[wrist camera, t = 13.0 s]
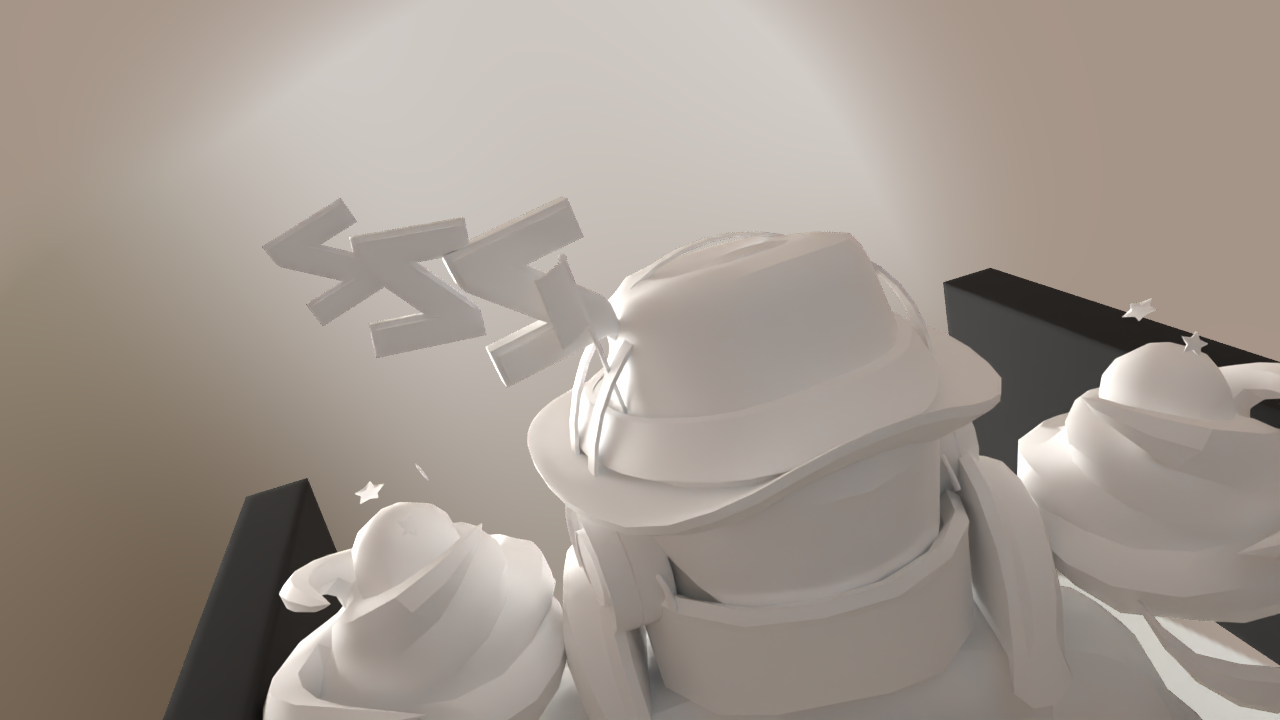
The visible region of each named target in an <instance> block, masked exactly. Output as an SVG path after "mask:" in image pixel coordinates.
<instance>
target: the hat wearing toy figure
mask: <svg viewBox="0 0 1280 720" xmlns="http://www.w3.org/2000/svg"><path fill="white" fill-rule="evenodd" d="M356 222H357V221H356V219H355V218H354V216H353V215H352V214H351V212H350V211H349V209H348V208H347V207H346V205H345V204H344V202H343V201H342V200H341V198H339V199H338V200H336V201H334V202H333V203H331V204H330V205H328V206H326V207H325V208H323V209H321V210H320V211H318V212H317V213H315V214H313V215H312V216H310V217H309V218H307V219H305V220H304V221H303V222H301V223H299V224H298V225H296V226H294V227H293V228H291V229H289V230H288V231H286V232H285V233H283V234H281V235H280V236H278V237H277V238H275V239H273V240H272V241H270V242H268V243H267V244H265V245H264V246H262V247H263V248H264V250H265V251H266V252H267V254H268V255H269V256H270V257H271V258H272V259H273V261H274V262H275V263H276V264H277V265H279V266H280V267H283V268H288V269H292V270H296V271H300V272H305V273H309V274H314V275H319V276H323V277H327V278H332V279H336V280H340V281H342V282H340V283H338V284H337V285H335V286H334V287H332V288H331V289H329V290H327V291H326V292H324V293H323V294H321V295H320V296H318V297H317V298H315V299H313V300H312V301H310V302H308V303H307V304H306V305H307V306H308V308H309V309H310V310H311V312H312V313H313V314H314V316H315V317H316V318H317V320H318V321H319V322H320V324H321V325H322V326H324V325H326V324H328V323H329V322H330V321H332V320H333V319H335V318H337V317H338V316H340V315H341V314H343V313H344V312H346V311H348V310H349V309H350V308H352V307H354V306H355V305H357V304H358V303H360V302H361V301H363V300H365V299H366V298H368V297H369V296H371V295H373V294H374V293H376V292H377V291H379V290H380V289H382V288H383V287H385V288H387V289H389V290H390V291H391V292H393V293H394V294H396V295H397V296H399V297H400V298H402V299H403V300H404V301H406V302H407V303H409V304H410V305H412V306H413V307H415V308H416V309H417V310H419V311H420V312H422V313H417V314H412V315H407V316H402V317H397V318H392V319H387V320H382V321H377V322H372V323H369V328H370V332H371V337H372V341H373V346H374V350H375V354H376V358H380V357H384V356H389V355H394V354H398V353H403V352H407V351H412V350H417V349H422V348H427V347H431V346H436V345H441V344H446V343H451V342H455V341H460V340H464V339H469V338H474V337H479V336H483V335H486V333H485V328H484V323H483V319H482V315H481V311H480V309H479V308H478V306H477V305H476V304H475V303H474V302H472V301H471V300H469V299H468V298H467V297H466V296H464V295H463V294H461V293H460V292H459V291H457V290H456V289H454V288H453V287H452V286H450V285H449V284H447V283H446V282H445V281H443V280H442V279H440V278H439V277H438V276H436V275H435V274H433V273H432V272H431V271H429V270H428V269H427V268H425V267H424V266H422V265H421V264H419V263H418V262H421V261H427V260H432V259H438V258H442V260H443V262H444V264H445V265H446V267H447V269H448V271H449V273H450V275H451V276H452V278H453V280H454V282H455V283H456V284H457V285H458V286H459V287H460V288H462V289H463V290H464V291H465V292H468V293H470V294H472V295H475V296H478V297H480V298H483V299H485V300H488V301H491V302H493V303H496V304H499V305H501V306H504V307H506V308H509V309H512V310H514V311H517V312H520V313H522V314H525V315H528V316H530V317H533V318H536V319H538V321H536V322H534V323H532V324H530V325H528V326H526V327H524V328H522V329H520V330H518V331H516V332H514V333H512V334H510V335H508V336H506V337H504V338H502V339H500V340H498V341H496V342H494V343H492V344H490V345H488V346H486V349H487V351H488V353H489V355H490V357H491V360H492V362H493V364H494V366H495V368H496V370H497V372H498V374H499V376H500V378H501V380H502V382H503V383H504V384H505V386H506V387H510V386H511V385H513V384H515V383H517V382H519V381H521V380H523V379H525V378H527V377H529V376H531V375H533V374H535V373H536V372H539V371H541V370H543V369H544V368H546V367H548V366H550V365H552V364H554V363H556V362H558V361H560V360H562V359H564V358H566V357H568V356H570V355H572V354H574V353H575V352H577V351H579V350H581V349H583V348H585V347H586V348H585V351H584V353H583V355H582V358H581V360H580V364H579V367H578V371H577V375H576V379H575V383H574V386H573V389H571V390H569V391H568V392H566V393H565V394H563V395H561V396H560V397H558V398H556V399H555V400H553V401H552V402H550V403H549V404H548V405H547V406H545V407H544V408H543V409H542V410H541V411H540V412H539V413H538V414H537V416H536V417H535V418H534V419H533V421H532V423H531V425H530V428H529V430H528V435H527V437H528V438H527V445H528V448H529V451H530V454H531V457H532V460H533V463H534V465H535V468H536V469H537V471H538V472H539V474H540V475H541V476H542V478H543V480H544V481H545V483H546V484H547V486H548V487H549V489H550V490H551V491H552V492H553V493H554V494H555V495H556V496H558V497H559V498H560V499H561V500H562V501H563V502H564V503H565V504H566V505H567V506H566V509H565V515H566V521H567V527H568V530H569V534H570V538H571V542H572V546H571V547H570V548H569V549H568V551H567V555H566V561H565V567H564V573H563V574H564V575H563V612H562V609H561V606H560V603H559V601H558V600H557V599H556V598H555V597H554V596H553V593H554V587H555V579H554V578H553V577H552V572H551V570H550V568H549V566H548V564H547V562H546V560H545V558H544V556H543V554H542V552H541V550H540V549H539V548H538V547H537V546H536V545H535V544H534V543H533V542H532V541H529V540H523V539H516V538H512V537H509V536H505V535H502V534H495V535H488V534H487V533H486V532H484V531H483V530H481V529H482V524H479V525H477V526H475V525H472V524H468V523H464V522H458V523H453V522H452V521H451V519H450V517H449V516H448V514H447V513H446V512H445V511H443V510H441V509H440V508H438V507H436V506H435V505H433V504H430V503H415V502H398V503H395V504H393V505H391V506H388V507H385V508H383V509H381V510H380V511H379V512H378V513H377V514H376V515H375V516H374V517H373V518H371V520H370V521H369V522H368V523H367V524H366V525H365V526H364V527H363V528H362V529H361V530H360V531H359V532H358V533H357V536H356V539H355V542H354V546H353V548H352V549H348V550H345V551H341V552H338V553H334V554H331V555H328V556H325V557H322V558H319V559H316V560H313V561H312V562H310V563H308V564H307V565H305V566H303V567H301V568H300V569H298V570H296V571H295V572H294V573H293V574H292V575H291V577H290V578H289V579H288V580H287V582H286V583H285V584H284V585H283V587H282V589H281V592H280V594H279V595H280V597H281V599H282V601H283V602H284V604H285V606H286V608H287V609H289V610H291V611H293V612H317V611H320V610H322V609H324V608H326V607H327V606H329V605H330V603H329V602H328V601H327V600H326V599H325V598H324V597H323V596H322V595H326V594H328V595H332V596H336V597H337V598H338V600H339V601H340V603H341V604H342V606H343V607H342V608H341V609H340V610H339V611H338V613H337V614H335V615H334V616H333V617H331V618H330V619H329V620H328V621H326V622H325V623H324V624H322V625H321V626H320V627H319V628H317V629H316V630H315V631H314V632H312V633H311V634H310V635H308V636H307V637H306V638H305V639H303V640H302V641H301V642H299V644H298V645H297V646H296V648H295V649H294V650H293V652H292V653H291V654H290V656H289V657H288V658H287V660H286V661H285V662H284V664H283V665H282V666H281V668H280V669H279V670H278V672H277V673H276V674H275V676H274V677H273V678H272V681H271V685H270V688H269V691H268V694H267V697H266V700H265V703H264V706H263V720H1202V719H1201V718H1200V716H1199V715H1198V714H1197V713H1196V712H1195V711H1193V710H1192V709H1191V708H1190V707H1189V706H1188V705H1186V704H1185V703H1184V702H1183V701H1182V700H1180V699H1179V698H1178V697H1177V696H1176V695H1174V694H1173V693H1172V692H1171V691H1170V690H1168V689H1167V687H1166V686H1165V684H1164V682H1163V681H1162V679H1161V677H1160V676H1159V674H1158V672H1157V671H1156V669H1155V667H1154V666H1153V664H1152V662H1151V661H1150V659H1149V658H1148V656H1147V654H1146V653H1145V651H1144V649H1143V648H1142V646H1141V644H1140V643H1139V641H1138V640H1137V638H1136V636H1135V635H1134V634H1133V633H1132V632H1131V631H1130V630H1129V629H1128V628H1127V627H1126V626H1125V625H1124V624H1123V623H1122V622H1121V621H1119V620H1118V619H1117V618H1116V617H1114V616H1113V615H1112V614H1111V613H1109V612H1108V611H1107V610H1106V609H1104V608H1103V607H1102V606H1101V605H1099V604H1098V603H1097V602H1096V601H1094V600H1092V599H1090V598H1089V597H1087V596H1085V595H1083V594H1082V593H1080V592H1078V591H1076V590H1074V589H1073V588H1071V587H1065V586H1060V584H1059V580H1058V575H1057V571H1056V569H1058V570H1059V571H1060V572H1061V573H1062V574H1063V575H1064V576H1065V577H1067V578H1068V579H1069V580H1070V581H1071V582H1072V583H1073V584H1074V585H1076V586H1077V587H1079V588H1081V589H1082V590H1084V591H1086V592H1087V593H1089V594H1091V595H1092V596H1094V597H1096V598H1097V599H1099V600H1101V601H1102V602H1104V603H1105V604H1107V605H1109V606H1110V607H1112V608H1114V609H1115V610H1117V611H1119V612H1120V613H1128V614H1138V615H1143V616H1144V618H1145V619H1146V621H1147V622H1148V624H1149V625H1150V627H1151V628H1152V630H1153V632H1154V633H1155V635H1156V636H1157V638H1158V639H1159V641H1160V642H1161V644H1162V645H1163V647H1164V649H1165V650H1166V651H1167V652H1168V653H1170V654H1171V655H1172V656H1173V657H1174V658H1175V659H1176V660H1177V661H1178V662H1179V663H1180V665H1181V666H1182V667H1183V668H1184V669H1185V670H1186V671H1187V672H1188V673H1189V674H1190V675H1191V676H1192V677H1193V679H1194V680H1195V681H1196V682H1198V683H1200V684H1201V685H1203V686H1205V687H1207V688H1208V689H1210V690H1212V691H1214V692H1215V693H1217V694H1219V695H1221V696H1222V697H1224V698H1226V699H1227V700H1229V701H1231V702H1233V703H1234V704H1236V705H1238V706H1241V707H1246V708H1251V709H1257V710H1262V711H1267V712H1272V713H1277V714H1278V713H1280V667H1269V666H1258V665H1246V664H1238V663H1233V662H1229V661H1225V660H1221V659H1217V658H1212V657H1208V656H1204V655H1200V654H1196V653H1195V652H1194V651H1192V650H1191V649H1190V648H1188V647H1187V646H1186V645H1185V644H1183V643H1182V642H1181V641H1180V640H1178V639H1177V638H1176V637H1175V636H1173V635H1172V634H1171V633H1169V632H1168V631H1167V630H1166V629H1164V628H1163V627H1162V626H1161V625H1160V623H1159V622H1158V621H1157V620H1156V619H1155V617H1154V616H1158V617H1168V618H1179V619H1189V620H1198V621H1214V622H1235V623H1247V622H1250V621H1254V620H1257V619H1261V618H1265V617H1268V616H1272V615H1276V614H1279V613H1280V429H1277V428H1274V427H1272V426H1270V425H1267V424H1265V423H1263V422H1261V421H1258V420H1256V419H1253V418H1250V408H1252V407H1253V406H1255V405H1256V404H1258V403H1259V402H1261V401H1262V400H1265V399H1280V363H1263V362H1258V363H1249V364H1240V365H1232V366H1225V367H1217V366H1216V364H1215V363H1214V362H1213V361H1212V360H1211V359H1210V357H1209V356H1208V355H1207V354H1205V353H1202V352H1201V347H1203V346H1205V345H1207V344H1208V343H1206V342H1204V341H1202V340H1200V338H1199V336H1198V333H1197V331H1196V332H1195V333H1194V334H1193V336H1192V337H1184V336H1182V338H1183V340H1184V341H1185V343H1186V346H1183V345H1179V344H1175V343H1171V342H1160V343H1148V344H1146V345H1144V346H1142V347H1140V348H1137V349H1135V350H1133V351H1131V352H1129V353H1127V354H1125V355H1123V356H1120V357H1118V358H1116V359H1115V360H1114V361H1113V362H1112V364H1111V365H1110V366H1109V367H1108V368H1107V370H1106V371H1105V372H1104V373H1103V374H1102V378H1101V383H1100V388H1096V389H1092V390H1088V391H1087V392H1085V393H1084V394H1083V395H1081V396H1080V397H1079V398H1077V399H1076V400H1075V401H1074V403H1073V405H1072V408H1071V410H1070V412H1069V413H1065V414H1062V415H1058V416H1055V417H1053V418H1050V419H1047V420H1045V421H1043V422H1042V423H1040V424H1039V425H1038V426H1037V427H1035V428H1034V429H1033V430H1031V431H1030V432H1029V433H1027V434H1026V435H1025V436H1023V437H1022V438H1020V439H1019V440H1018V469H1017V475H1016V474H1015V473H1013V472H1012V471H1011V470H1010V469H1009V468H1008V467H1007V466H1006V465H1005V464H1004V463H1003V462H1002V461H999V460H996V459H993V458H989V457H986V456H979V445H978V440H977V436H976V431H975V427H974V425H973V423H972V421H973V420H975V419H977V418H978V417H980V416H982V415H983V414H985V413H986V412H988V411H990V410H991V409H992V408H994V407H995V406H996V405H997V404H998V403H999V402H1000V398H1001V377H1000V376H999V375H998V373H997V372H996V371H995V370H994V369H993V368H992V366H991V365H990V364H989V363H988V362H987V361H986V360H984V359H983V358H982V357H981V356H980V355H978V354H977V353H976V352H975V351H973V350H972V349H971V348H970V347H968V346H967V345H965V344H963V343H962V342H960V341H958V340H956V339H955V338H953V337H951V336H950V335H948V334H946V333H944V332H941V331H939V330H936V329H934V328H932V327H929V326H926V324H925V322H924V320H923V318H922V316H921V314H920V312H919V310H918V308H917V306H916V304H915V302H914V301H913V300H912V298H911V297H910V296H909V294H908V293H907V292H906V290H905V289H904V288H903V287H902V285H901V284H900V283H899V282H898V281H897V280H895V279H894V278H893V277H892V276H891V275H890V274H889V273H888V272H887V271H885V270H884V269H883V268H882V267H880V266H879V265H877V264H875V263H873V262H872V261H870V259H869V257H868V256H867V254H866V252H865V250H864V249H863V247H862V245H861V244H860V243H859V242H858V241H857V240H856V239H855V238H854V237H853V236H852V235H851V234H850V233H836V232H806V233H798V234H790V235H783V234H776V233H768V232H737V233H726V234H721V235H716V236H712V237H707V238H703V239H700V240H697V241H695V242H692V243H690V244H687V245H685V246H682V247H680V248H677V249H675V250H674V251H672V252H670V253H669V254H667V255H665V256H664V257H662V258H660V259H659V260H657V261H655V262H654V263H652V264H651V265H649V266H648V267H646V268H644V269H641V270H639V271H637V272H636V273H634V274H632V275H630V276H627V277H626V278H625V279H624V281H623V282H622V284H621V285H620V286H619V288H618V289H617V290H616V292H615V293H614V294H613V295H612V296H611V298H610V299H609V300H607V299H606V298H605V297H603V296H602V295H600V294H598V293H596V292H594V291H591V290H589V289H586V288H584V287H582V286H579V285H577V284H576V283H575V280H574V278H573V275H572V273H571V270H570V268H569V265H568V263H567V261H566V260H567V257H566V255H565V254H560V255H559V256H558V260H559V261H560V262H559V263H558V265H556V266H555V268H553V269H551V270H550V271H549V272H548V273H547V272H544V271H542V270H540V269H537V268H534V267H532V266H530V265H527V264H529V263H531V262H533V261H535V260H537V259H539V258H541V257H543V256H545V255H547V254H549V253H551V252H554V251H556V250H558V249H559V248H562V247H564V246H566V245H568V244H570V243H572V242H574V241H576V240H578V239H581V238H583V234H582V232H581V230H580V228H579V225H578V223H577V221H576V218H575V216H574V214H573V211H572V208H571V206H570V204H569V201H568V199H567V198H563V197H560V198H558V199H556V200H553V201H551V202H549V203H547V204H545V205H543V206H541V207H538V208H536V209H534V210H532V211H530V212H528V213H526V214H523V215H521V216H519V217H517V218H515V219H513V220H511V221H509V222H506V223H504V224H502V225H500V226H498V227H496V228H494V229H491V230H489V231H487V232H485V233H483V234H481V235H479V236H477V237H475V238H473V239H471V240H468V235H467V230H466V224H465V218H457V219H450V220H444V221H439V222H433V223H428V224H421V225H416V226H410V227H405V228H398V229H393V230H387V231H381V232H375V233H369V234H363V235H357V236H351V237H349V238H350V242H351V247H352V250H353V252H349V251H345V250H341V249H336V248H332V247H328V246H324V245H321V244H322V243H324V242H325V241H327V240H329V239H330V238H332V237H333V236H335V235H337V234H338V233H340V232H341V231H343V230H345V229H346V228H348V227H349V226H351V225H353V224H354V223H356ZM742 236H751V237H746V238H742V239H738V240H733V241H728V242H723V243H720V244H716V245H713V246H709V247H705V248H702V249H699V250H695V251H692V252H689V253H686V254H683V253H685V252H688V251H690V250H693V249H695V248H697V247H700V246H703V245H705V244H707V243H710V242H714V241H719V240H724V239H728V238H733V237H742ZM682 254H683V255H682ZM565 261H566V262H565ZM876 273H877V274H878V275H879V276H880V277H881V278H882V279H884V280H885V281H886V282H887V283H888V285H889V286H890V287H891V289H892V290H893V291H894V292H895V294H896V295H897V296H898V298H899V299H900V300H901V302H902V304H903V306H904V308H905V310H906V312H907V314H908V316H909V318H910V320H908V319H905V318H904V317H902V316H900V315H898V314H896V313H894V312H892V311H891V309H890V306H889V304H888V301H887V299H886V297H885V294H884V292H883V289H882V287H881V285H880V282H879V280H878V277H877V275H876ZM1151 300H1152V299H1149V300H1146V301H1143V302H1141V303H1130V307H1131V309H1130V310H1129V311H1128V312H1127V313H1126V314H1125V315H1124V316H1123V317H1136V318H1137V319H1138V321H1140V320H1141V319H1142V318H1143V317H1144V316H1145V315H1146V314H1148V313H1151V312H1153V311H1155V310H1157V309H1155V308H1153V307H1151V306H1150V304H1151ZM605 337H608V341H609V356H608V360H607V359H606V357H605V354H604V352H603V349H602V347H601V344H600V342H599V340H601V339H603V338H605ZM595 349H597V351H598V354H599V356H600V359H601V361H602V364H603V366H604V367H603V368H602V369H601V370H600V371H599V372H598V373H596V374H595V375H594V376H593V377H592V378H591V379H590V380H589V381H587V382H585V383H584V381H585V377H586V374H587V370H588V366H589V363H590V361H591V358H592V356H593V354H594V351H595ZM416 467H417V469H418V470H419V471H420V472H421V474H422V475H423V476H424V477H425V478H426V479H427V480H428V478H427V476H426V474H425V473H424V472H423V470H422V469H421V468H420V466H418V465H417V464H416ZM383 485H384V484H378V485H373V484H372V483H371V482H369V483H368V484H367V485H366V487H365V488H363V489H362V490H360V491H359V492H357V493H355V494H356V495H358V496H361V500H360V504H361V503H363V502H365V501H367V500H369V499H371V498H378V493H377V492H378V491H379V490H380V489H381V487H382V486H383ZM566 659H567V663H568V667H565V664H566Z"/></svg>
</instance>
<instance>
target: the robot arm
mask: <svg viewBox="0 0 1280 720" xmlns="http://www.w3.org/2000/svg"><path fill="white" fill-rule="evenodd" d="M943 285H944V294H945V304H946V313H947V322H948V331H949V335H950V336H951V337H953V338H955V339H956V340H958V341H960V342H962V343H963V344H965V345H967V346H968V347H970V348H971V349H972V350H973V351H975V352H976V353H977V354H978V355H980V356H981V357H982V358H983V359H984V360H986V361H987V362H988V363H989V364H990V365H991V366H992V368H993V369H994V370H995V371H996V372H997V373H998V375H999V376H1000V377H1001V398H1000V402H999V403H998V404H997V405H996V406H995V407H994V408H992V409H991V410H990V411H988V412H986V413H985V414H983V415H982V416H980V417H978V418H977V419H975V420H973V421H972V423H973V425H974V427H975V431H976V436H977V440H978V445H979V456H986V457H989V458H993V459H996V460H999V461H1002V462H1003V463H1004V464H1005V465H1006V466H1007V467H1008V468H1009V469H1010V470H1011V471H1012V472H1013V473H1015V474H1016V475H1017V469H1018V440H1019V439H1020V438H1022V437H1023V436H1025V435H1026V434H1027V433H1029V432H1030V431H1031V430H1033V429H1034V428H1035V427H1037V426H1038V425H1039V424H1040V423H1042V422H1043V421H1045V420H1047V419H1050V418H1053V417H1055V416H1058V415H1062V414H1065V413H1069V412H1070V410H1071V408H1072V405H1073V403H1074V401H1075V400H1076V399H1077V398H1079V397H1080V396H1081V395H1083V394H1084V393H1085V392H1087V391H1088V390H1092V389H1096V388H1100V383H1101V378H1102V374H1103V373H1104V372H1105V371H1106V370H1107V368H1108V367H1109V366H1110V365H1111V364H1112V362H1113V361H1114V360H1115V359H1116V358H1118V357H1120V356H1123V355H1125V354H1127V353H1129V352H1131V351H1133V350H1135V349H1137V348H1140V347H1142V346H1144V345H1146V344H1148V343H1160V342H1171V343H1175V344H1179V345H1183V346H1186V343H1185V341H1184V340H1183V338H1182V336H1184V337H1192V336H1193V334H1192V333H1189V332H1186V331H1183V330H1179V329H1177V328H1174V327H1171V326H1167V325H1164V324H1161V323H1158V322H1155V321H1152V320H1149V319H1146V318H1142V319H1141V320H1140V321H1138V319H1137V318H1136V317H1123V316H1124V315H1125V314H1126V313H1127V312H1124V311H1121V310H1118V309H1115V308H1112V307H1109V306H1106V305H1103V304H1100V303H1097V302H1094V301H1090V300H1087V299H1084V298H1081V297H1078V296H1075V295H1072V294H1069V293H1066V292H1063V291H1060V290H1057V289H1054V288H1051V287H1048V286H1045V285H1042V284H1038V283H1035V282H1032V281H1029V280H1026V279H1023V278H1020V277H1017V276H1014V275H1011V274H1008V273H1004V272H1002V271H999V270H995V269H992V268H989V269H985V270H982V271H979V272H976V273H972V274H969V275H966V276H962V277H959V278H956V279H953V280H949V281H946V282H944V283H943ZM1199 338H1200V340H1202V341H1204V342H1206V343H1208V344H1207V345H1205V346H1203V347H1201V352H1202V353H1205V354H1207V355H1208V356H1209V357H1210V359H1211V360H1212V361H1213V362H1214V363H1215V364H1216V366H1217V367H1225V366H1232V365H1240V364H1249V363H1258V362H1263V363H1280V362H1278V361H1275V360H1272V359H1269V358H1266V357H1263V356H1259V355H1256V354H1253V353H1250V352H1247V351H1244V350H1241V349H1238V348H1235V347H1232V346H1229V345H1226V344H1223V343H1219V342H1217V341H1214V340H1210V339H1207V338H1204V337H1201V336H1199ZM1250 418H1253V419H1256V420H1258V421H1261V422H1263V423H1265V424H1267V425H1270V426H1272V427H1274V428H1277V429H1280V399H1265V400H1262V401H1261V402H1259V403H1258V404H1256V405H1255V406H1253V407H1252V408H1250ZM334 553H337V551H336V548H335V546H334V543H333V541H332V538H331V536H330V533H329V531H328V529H327V526H326V523H325V521H324V519H323V516H322V513H321V511H320V508H319V506H318V503H317V501H316V498H315V496H314V494H313V491H312V488H311V486H310V483H309V481H308V479H307V478H306V479H303V480H299V481H296V482H293V483H290V484H286V485H283V486H280V487H277V488H273V489H270V490H267V491H264V492H260V493H257V494H254V495H251V496H248V497H246V498H245V501H244V504H243V507H242V509H241V512H240V514H239V517H238V520H237V523H236V525H235V528H234V530H233V533H232V536H231V538H230V541H229V544H228V546H227V549H226V552H225V554H224V557H223V560H222V563H221V565H220V568H219V571H218V573H217V576H216V579H215V581H214V584H213V587H212V589H211V592H210V595H209V597H208V600H207V603H206V605H205V608H204V611H203V613H202V616H201V619H200V621H199V624H198V627H197V629H196V632H195V635H194V637H193V640H192V643H191V646H190V648H189V651H188V653H187V656H186V659H185V661H184V664H183V667H182V669H181V672H180V675H179V677H178V680H177V683H176V685H175V688H174V691H173V693H172V696H171V699H170V701H169V704H168V707H167V710H166V712H165V715H164V718H163V720H263V706H264V703H265V700H266V697H267V694H268V691H269V688H270V685H271V681H272V678H273V677H274V676H275V674H276V673H277V672H278V670H279V669H280V668H281V666H282V665H283V664H284V662H285V661H286V660H287V658H288V657H289V656H290V654H291V653H292V652H293V650H294V649H295V648H296V646H297V645H298V644H299V642H301V641H302V640H303V639H305V638H306V637H307V636H308V635H310V634H311V633H312V632H314V631H315V630H316V629H317V628H319V627H320V626H321V625H322V624H324V623H325V622H326V621H328V620H329V619H330V618H331V617H333V616H334V615H335V614H337V613H338V611H339V610H340V609H341V608H342V607H343V606H342V604H341V603H340V601H339V600H338V598H337V597H336V596H332V595H328V594H326V595H322V596H323V597H324V598H325V599H326V600H327V601H328V602H329V603H330V605H329V606H327V607H326V608H324V609H322V610H320V611H317V612H293V611H291V610H289V609H287V608H286V606H285V604H284V602H283V601H282V599H281V597H280V595H279V594H280V592H281V589H282V587H283V585H284V584H285V583H286V582H287V580H288V579H289V578H290V577H291V575H292V574H293V573H294V572H295V571H296V570H298V569H300V568H301V567H303V566H305V565H307V564H308V563H310V562H312V561H313V560H316V559H319V558H322V557H325V556H328V555H331V554H334ZM1216 623H1218V624H1219V625H1221V626H1222V627H1223V628H1225V629H1226V630H1228V631H1229V632H1231V633H1232V634H1234V635H1235V636H1237V637H1239V638H1240V639H1242V640H1243V641H1244V642H1246V643H1247V644H1249V645H1250V646H1252V647H1253V648H1255V649H1256V650H1258V651H1259V652H1261V653H1262V654H1264V655H1265V656H1267V657H1268V658H1270V659H1271V660H1273V661H1274V662H1276V663H1277V664H1279V665H1280V613H1279V614H1276V615H1272V616H1268V617H1265V618H1261V619H1257V620H1254V621H1250V622H1247V623H1235V622H1216Z"/></svg>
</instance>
